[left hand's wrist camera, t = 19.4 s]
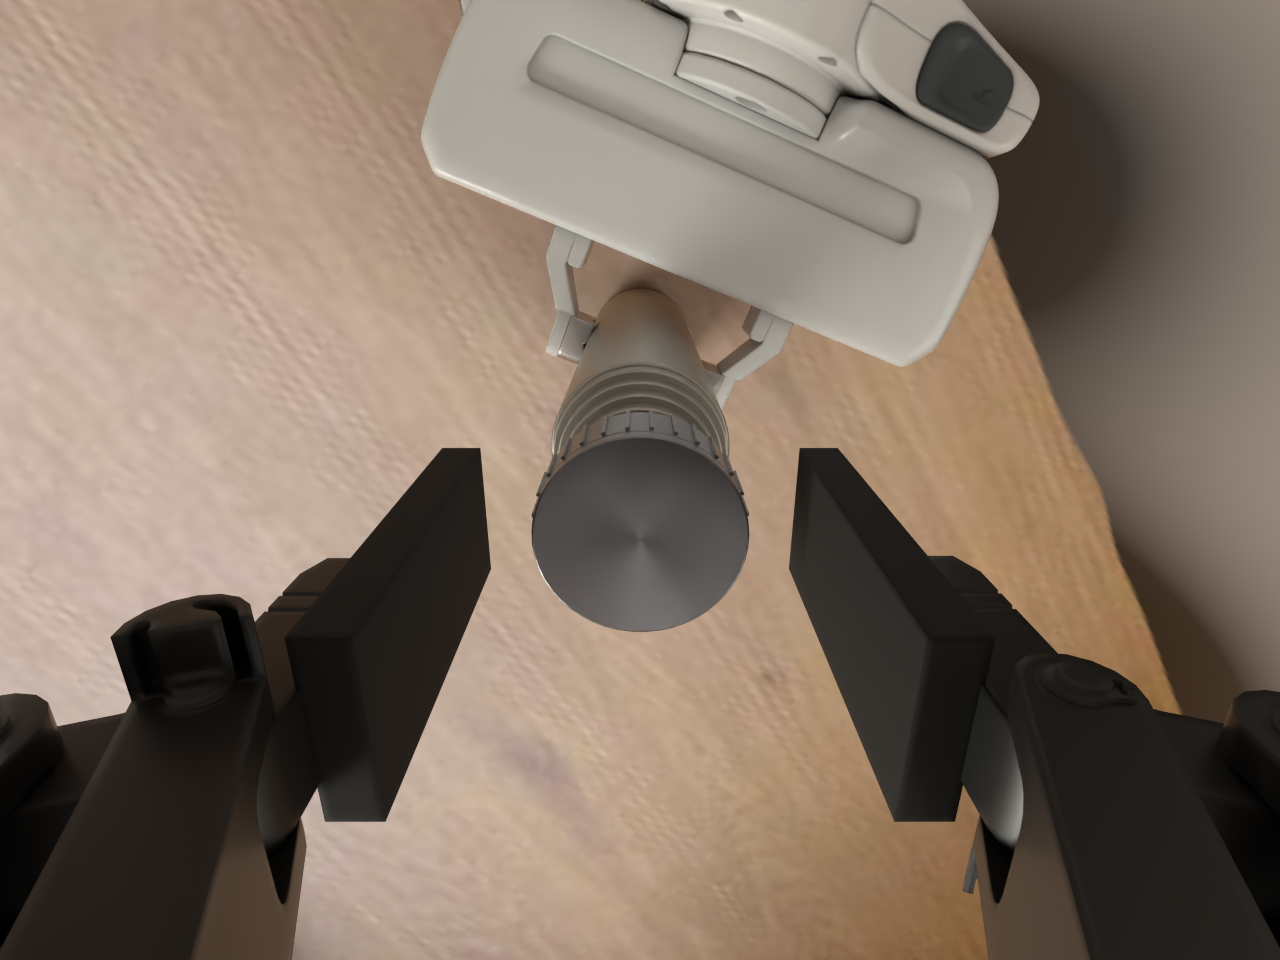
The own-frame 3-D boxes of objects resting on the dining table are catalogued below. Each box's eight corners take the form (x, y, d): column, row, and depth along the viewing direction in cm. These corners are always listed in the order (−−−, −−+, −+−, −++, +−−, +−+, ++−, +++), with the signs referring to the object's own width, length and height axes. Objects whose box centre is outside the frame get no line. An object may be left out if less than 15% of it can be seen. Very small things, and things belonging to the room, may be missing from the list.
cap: (713, 608, 15) (720, 652, 14) (526, 574, 15) (512, 613, 13) (764, 432, 14) (779, 459, 12) (557, 389, 13) (547, 411, 12)
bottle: (675, 277, 33) (732, 385, 12) (696, 370, 34) (775, 598, 14) (582, 301, 33) (491, 443, 13) (607, 391, 35) (561, 644, 14)
